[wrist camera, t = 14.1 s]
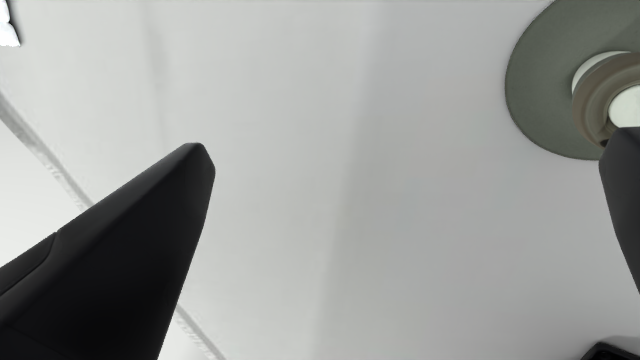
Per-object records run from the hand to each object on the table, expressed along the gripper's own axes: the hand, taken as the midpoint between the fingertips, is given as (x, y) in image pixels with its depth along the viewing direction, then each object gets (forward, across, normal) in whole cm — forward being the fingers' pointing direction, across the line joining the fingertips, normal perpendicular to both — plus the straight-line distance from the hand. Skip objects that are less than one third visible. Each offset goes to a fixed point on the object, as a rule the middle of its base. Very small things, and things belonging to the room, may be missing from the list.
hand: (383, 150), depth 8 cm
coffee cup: (+9, -9, +4) cm, 14 cm away
